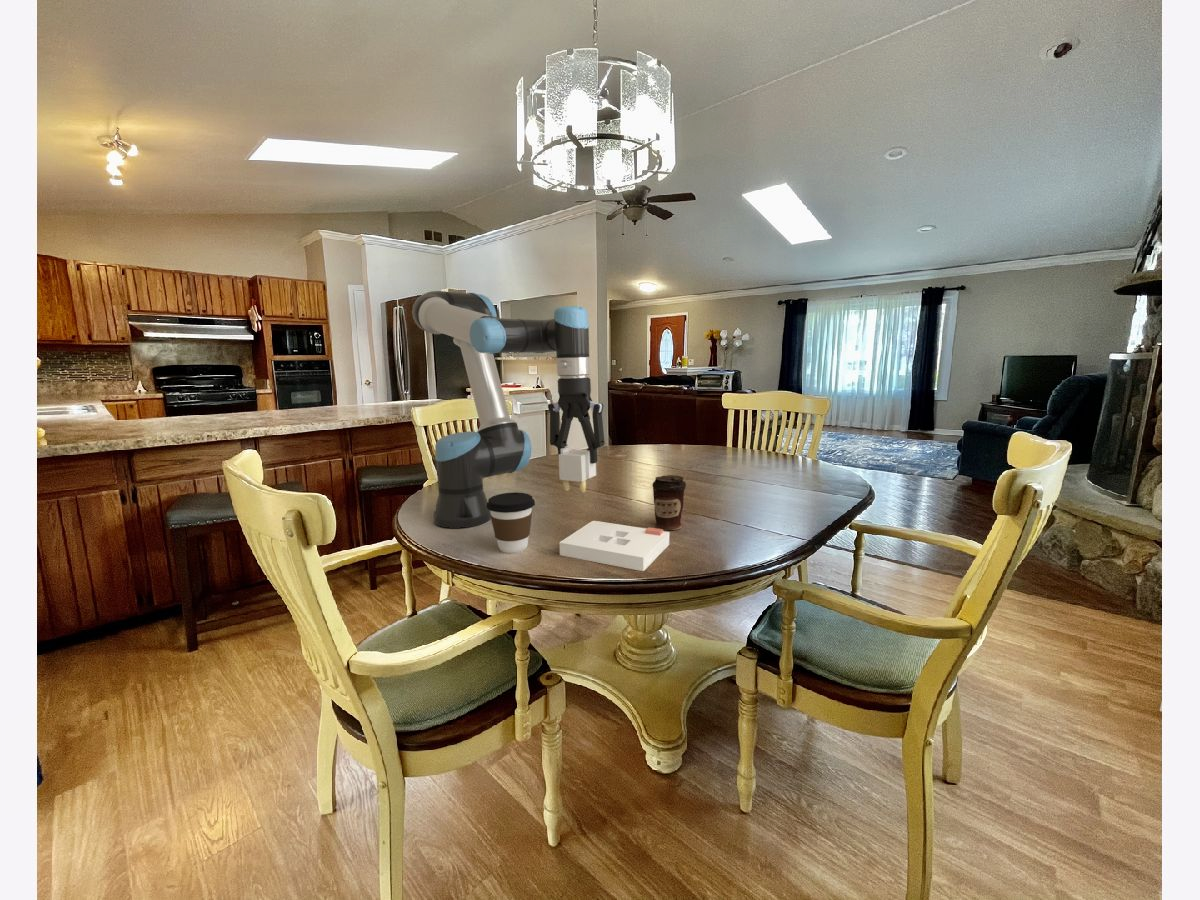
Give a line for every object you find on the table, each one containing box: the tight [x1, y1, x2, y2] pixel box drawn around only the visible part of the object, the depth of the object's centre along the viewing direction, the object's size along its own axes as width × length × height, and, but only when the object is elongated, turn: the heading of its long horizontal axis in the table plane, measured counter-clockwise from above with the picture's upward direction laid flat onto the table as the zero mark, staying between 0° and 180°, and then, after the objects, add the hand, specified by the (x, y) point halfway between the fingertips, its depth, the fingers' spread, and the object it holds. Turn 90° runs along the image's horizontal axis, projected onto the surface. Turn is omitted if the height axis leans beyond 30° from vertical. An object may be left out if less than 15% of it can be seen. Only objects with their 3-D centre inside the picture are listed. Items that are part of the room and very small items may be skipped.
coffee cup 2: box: [652, 474, 687, 531], centre depth 126 cm, size 9×8×13 cm
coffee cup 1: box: [487, 492, 536, 554], centre depth 114 cm, size 11×11×12 cm
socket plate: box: [558, 520, 670, 572], centre depth 113 cm, size 16×20×4 cm
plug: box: [557, 449, 597, 494], centre depth 118 cm, size 7×6×9 cm
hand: (578, 475), depth 118 cm, fingers closed on plug, 6 cm apart
